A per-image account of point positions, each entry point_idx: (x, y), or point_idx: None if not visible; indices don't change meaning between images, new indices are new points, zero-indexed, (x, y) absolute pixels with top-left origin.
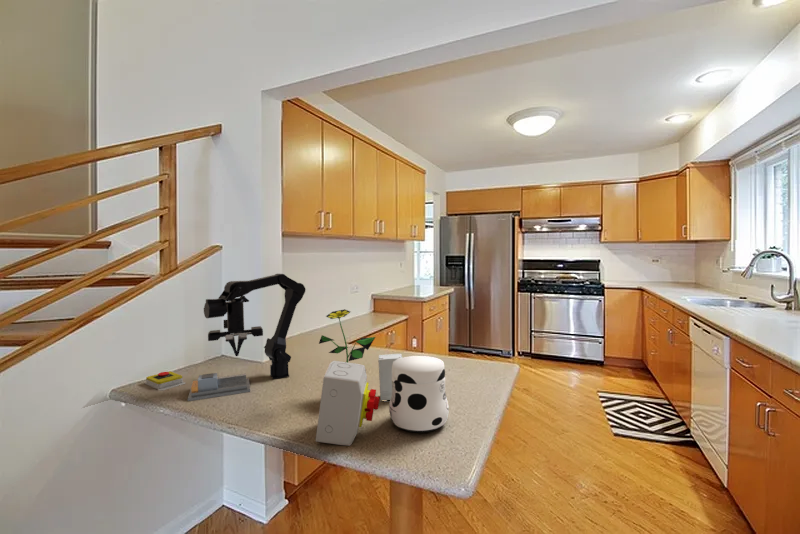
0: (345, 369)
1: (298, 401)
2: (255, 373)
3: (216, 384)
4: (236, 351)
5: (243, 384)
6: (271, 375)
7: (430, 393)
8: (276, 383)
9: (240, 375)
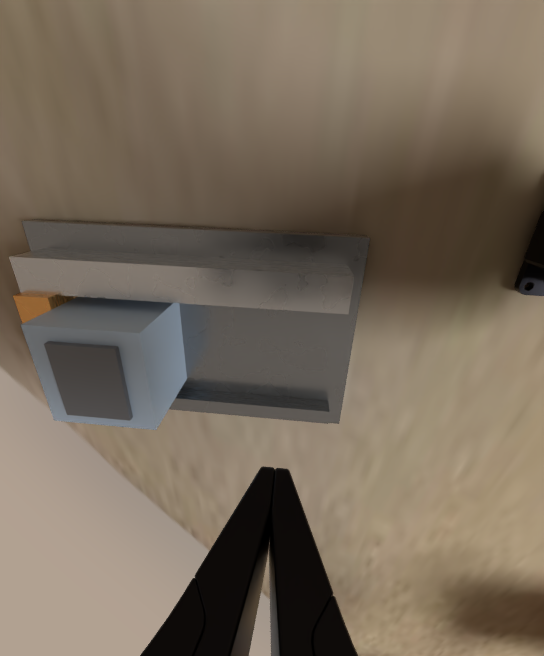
0: None
1: (468, 565)
2: (467, 32)
3: (171, 400)
4: (263, 576)
5: (318, 344)
6: (531, 264)
7: None
8: (494, 367)
9: (310, 304)
